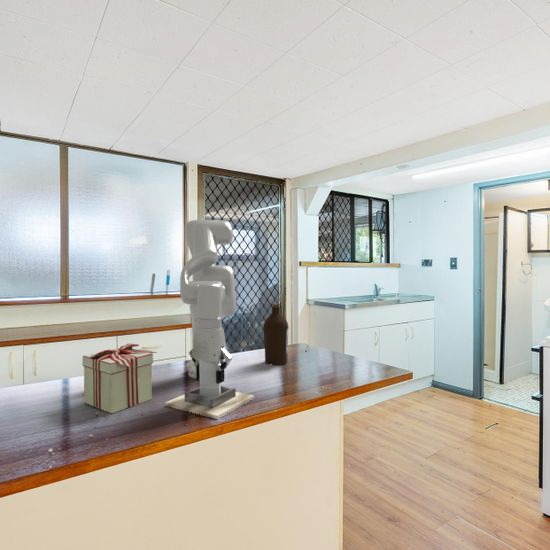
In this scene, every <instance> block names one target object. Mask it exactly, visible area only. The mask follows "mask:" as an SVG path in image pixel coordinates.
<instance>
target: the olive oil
mask: <svg viewBox="0 0 550 550" xmlns="http://www.w3.org/2000/svg"><path fill="white" fill-rule="evenodd" d="M271 305H272V306H271V313H270V314H269V316H267V318H265V320H264V323H263V339H264V340H263V341H264V342H263V343H264V362H266V363H268V364H267V365H269V364H272V365H271V366H281V365H280V364H283V365H286V364H287V363H288V351H289V350H288V349H289V348H288V347H289V346H288V345H289V323H288V321H287V319H286V317H284V316H283V315H282V313H281V312H280V311H281V310H280V309H281V308H280V303H272V304H271ZM266 363H265V364H266ZM285 363H286V364H285Z"/></svg>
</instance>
